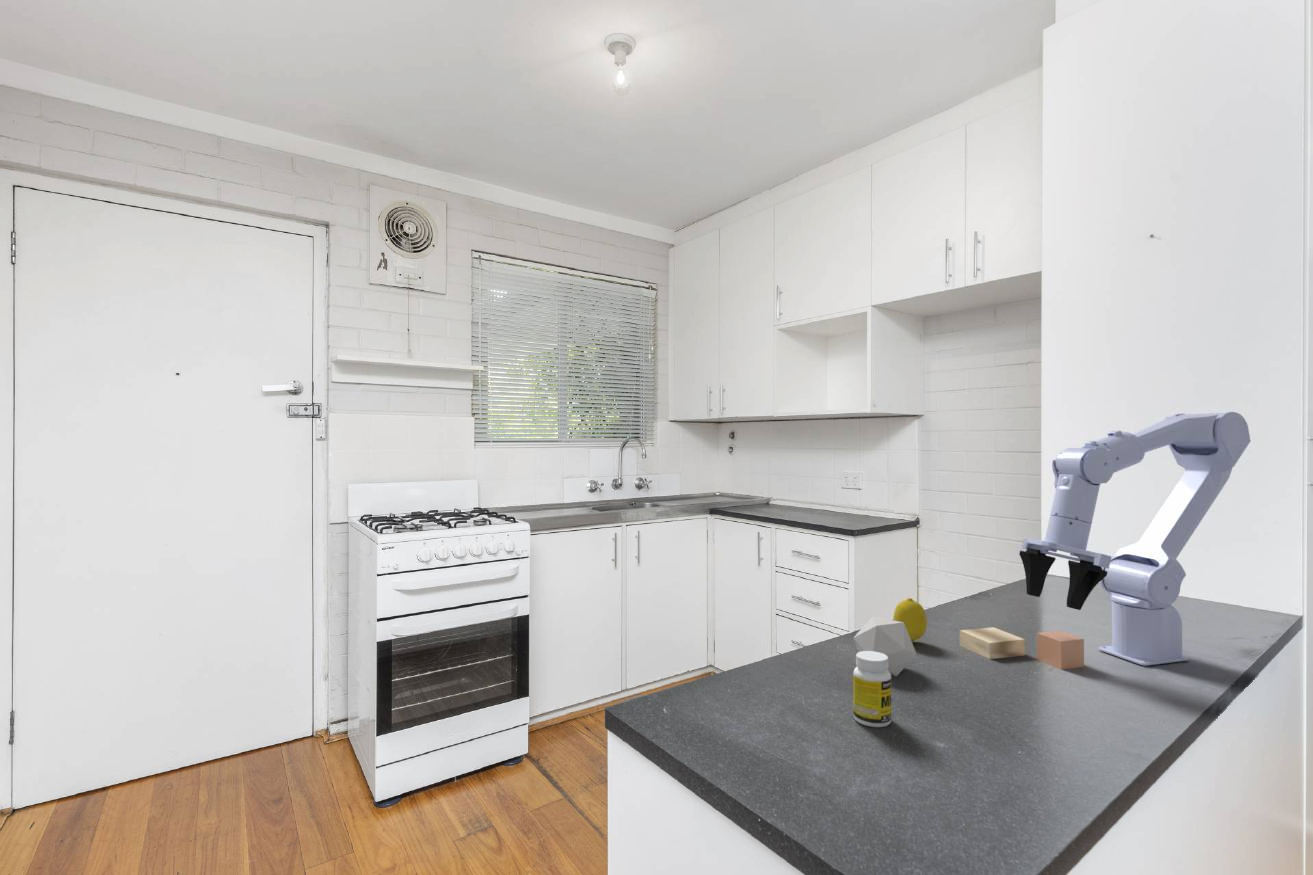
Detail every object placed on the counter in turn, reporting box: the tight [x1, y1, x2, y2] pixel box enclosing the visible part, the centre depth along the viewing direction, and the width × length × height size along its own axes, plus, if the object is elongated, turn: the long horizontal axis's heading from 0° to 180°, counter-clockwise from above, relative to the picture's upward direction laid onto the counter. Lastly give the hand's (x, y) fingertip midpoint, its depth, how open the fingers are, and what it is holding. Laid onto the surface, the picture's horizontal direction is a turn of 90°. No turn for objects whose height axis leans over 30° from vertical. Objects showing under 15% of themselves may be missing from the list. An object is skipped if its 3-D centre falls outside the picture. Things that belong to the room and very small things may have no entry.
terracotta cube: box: [1036, 630, 1085, 671], centre depth 101 cm, size 4×4×4 cm
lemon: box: [893, 597, 928, 643], centre depth 112 cm, size 6×6×8 cm
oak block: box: [959, 626, 1026, 660], centre depth 107 cm, size 7×7×3 cm
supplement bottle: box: [852, 651, 892, 728], centre depth 81 cm, size 5×5×8 cm
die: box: [853, 616, 917, 677], centre depth 99 cm, size 8×9×10 cm
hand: (1052, 601), depth 101 cm, fingers open, 7 cm apart
